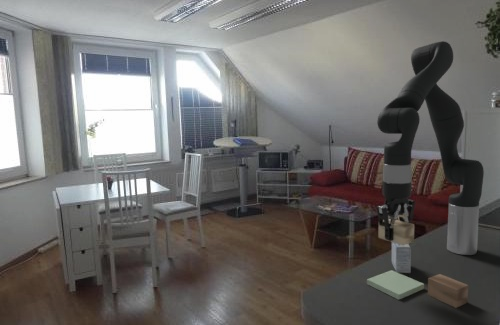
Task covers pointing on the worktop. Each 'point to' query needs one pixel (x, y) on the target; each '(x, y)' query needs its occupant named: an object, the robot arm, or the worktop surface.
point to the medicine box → (401, 258)
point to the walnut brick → (448, 290)
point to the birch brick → (399, 232)
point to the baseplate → (395, 284)
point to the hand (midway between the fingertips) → (395, 237)
